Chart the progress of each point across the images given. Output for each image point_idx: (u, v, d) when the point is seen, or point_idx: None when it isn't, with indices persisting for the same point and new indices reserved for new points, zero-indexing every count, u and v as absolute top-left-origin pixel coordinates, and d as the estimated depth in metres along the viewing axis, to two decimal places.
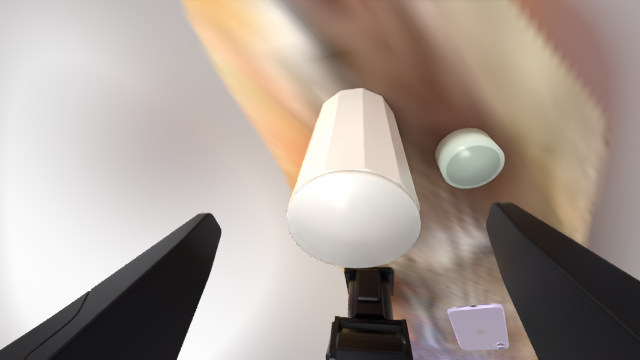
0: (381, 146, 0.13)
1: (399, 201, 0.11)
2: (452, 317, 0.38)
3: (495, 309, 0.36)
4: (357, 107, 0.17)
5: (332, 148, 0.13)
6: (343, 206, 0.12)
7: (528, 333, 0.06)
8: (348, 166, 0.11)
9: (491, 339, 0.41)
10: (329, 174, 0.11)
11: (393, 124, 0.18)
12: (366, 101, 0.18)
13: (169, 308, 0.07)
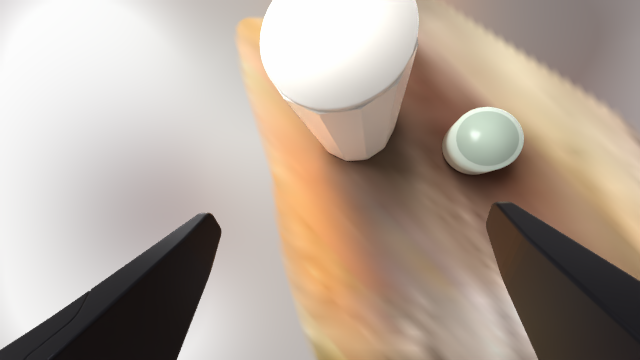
0: None
1: None
2: None
3: None
4: None
5: None
6: None
7: (528, 333, 0.06)
8: None
9: None
10: None
11: None
12: None
13: (169, 308, 0.07)
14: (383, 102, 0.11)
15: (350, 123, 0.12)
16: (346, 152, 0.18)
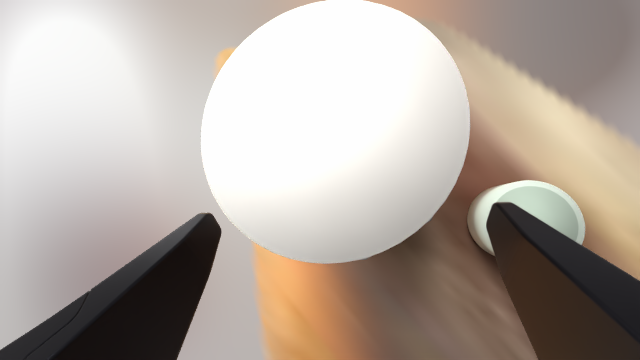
0: None
1: (414, 41, 0.06)
2: None
3: None
4: None
5: None
6: (310, 64, 0.06)
7: (528, 333, 0.06)
8: None
9: None
10: None
11: None
12: None
13: (169, 308, 0.07)
14: None
15: None
16: None
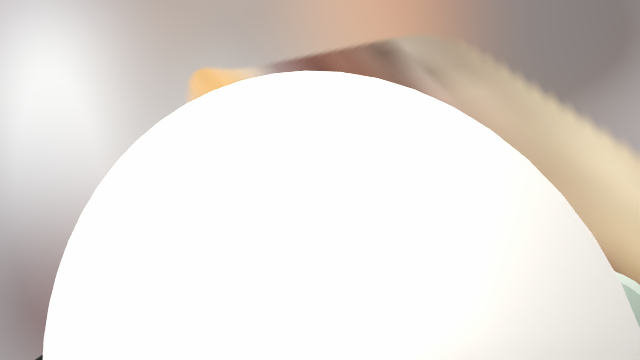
0: None
1: (494, 188, 0.02)
2: None
3: None
4: None
5: None
6: (257, 213, 0.03)
7: None
8: None
9: None
10: None
11: None
12: None
13: None
14: None
15: None
16: None
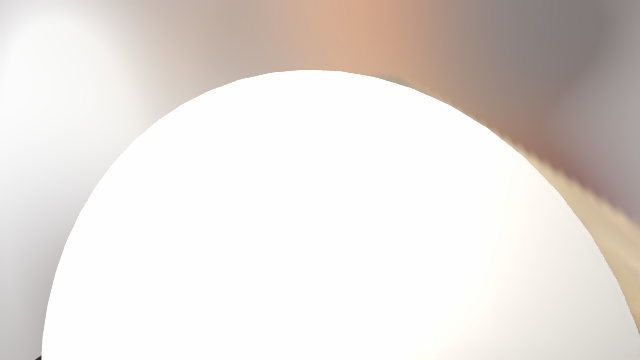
0: None
1: (491, 186, 0.02)
2: None
3: None
4: None
5: None
6: (255, 212, 0.03)
7: None
8: None
9: None
10: None
11: None
12: None
13: None
14: None
15: None
16: None
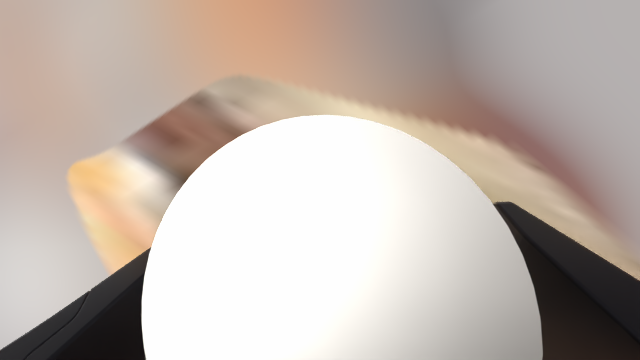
0: None
1: (449, 196, 0.04)
2: None
3: None
4: None
5: None
6: (294, 212, 0.04)
7: None
8: None
9: None
10: None
11: None
12: None
13: None
14: None
15: None
16: None
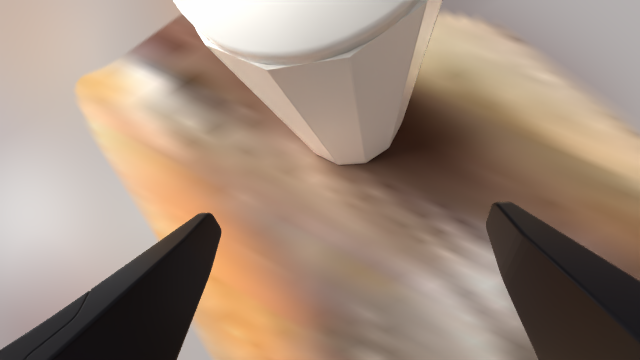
0: None
1: None
2: None
3: None
4: None
5: None
6: None
7: (528, 333, 0.06)
8: None
9: None
10: None
11: None
12: None
13: (169, 308, 0.07)
14: (394, 51, 0.06)
15: (333, 96, 0.07)
16: (336, 152, 0.13)
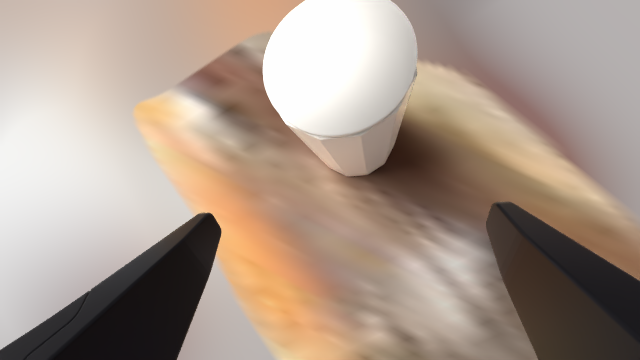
0: None
1: (388, 11, 0.10)
2: None
3: None
4: None
5: None
6: (329, 26, 0.11)
7: (528, 333, 0.06)
8: None
9: None
10: None
11: None
12: None
13: (169, 308, 0.07)
14: (383, 127, 0.11)
15: (350, 146, 0.12)
16: (346, 169, 0.18)
